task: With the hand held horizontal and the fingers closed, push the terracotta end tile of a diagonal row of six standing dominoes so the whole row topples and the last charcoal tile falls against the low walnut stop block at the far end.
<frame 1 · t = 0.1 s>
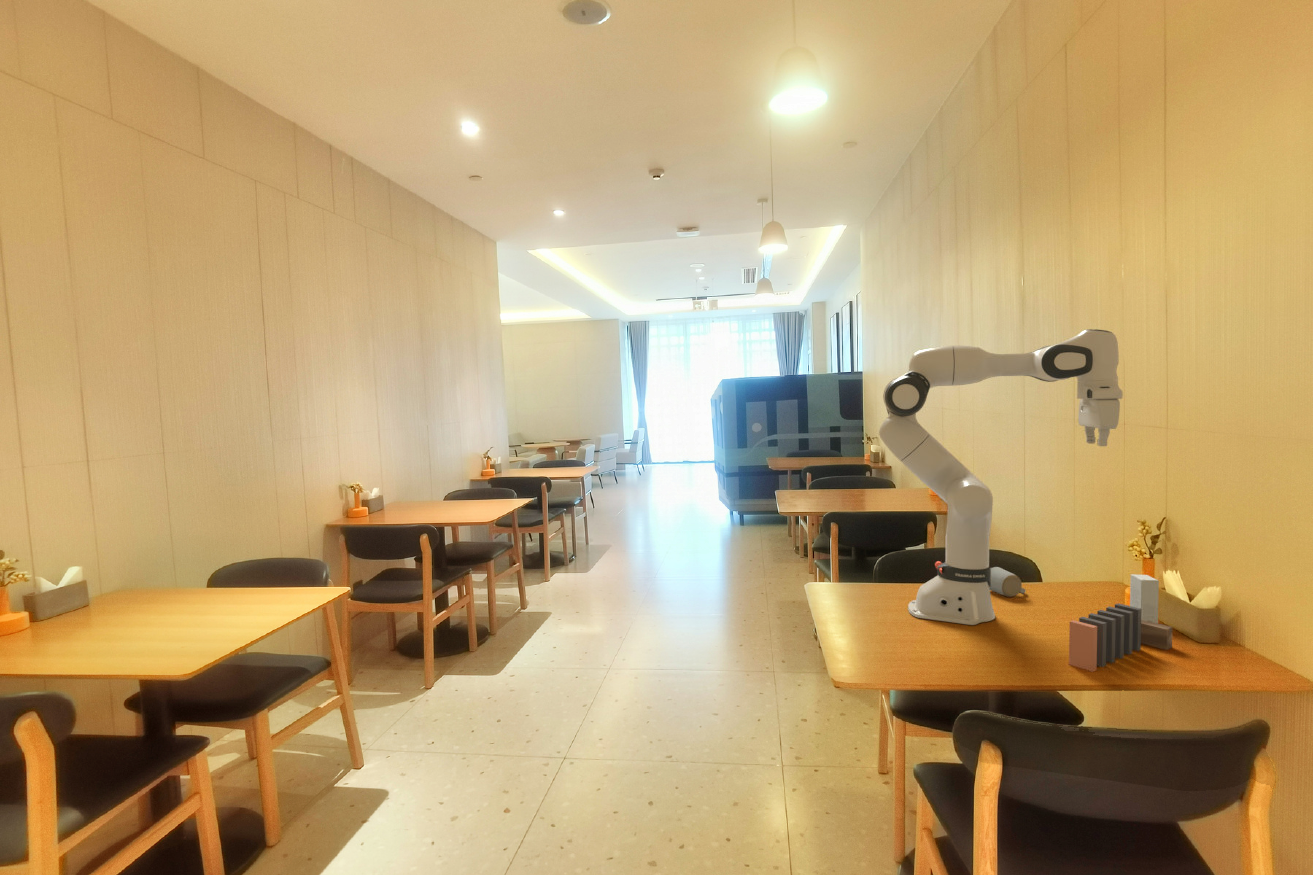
hand: (1096, 444, 171), 48 cm above the table, tool pointing down, fingers open, 8 cm apart
domino 5: (1118, 650, 156), on the table
skincare box: (1143, 621, 176), on the table
domino 3: (1101, 658, 152), on the table
domino 6: (1127, 647, 158), on the table
domino 2: (1092, 662, 149), on the table
ceramic mug: (1006, 594, 202), on the table
end stop: (1140, 640, 162), on the table
domino 4: (1109, 654, 154), on the table
domino 1: (1082, 667, 147), on the table
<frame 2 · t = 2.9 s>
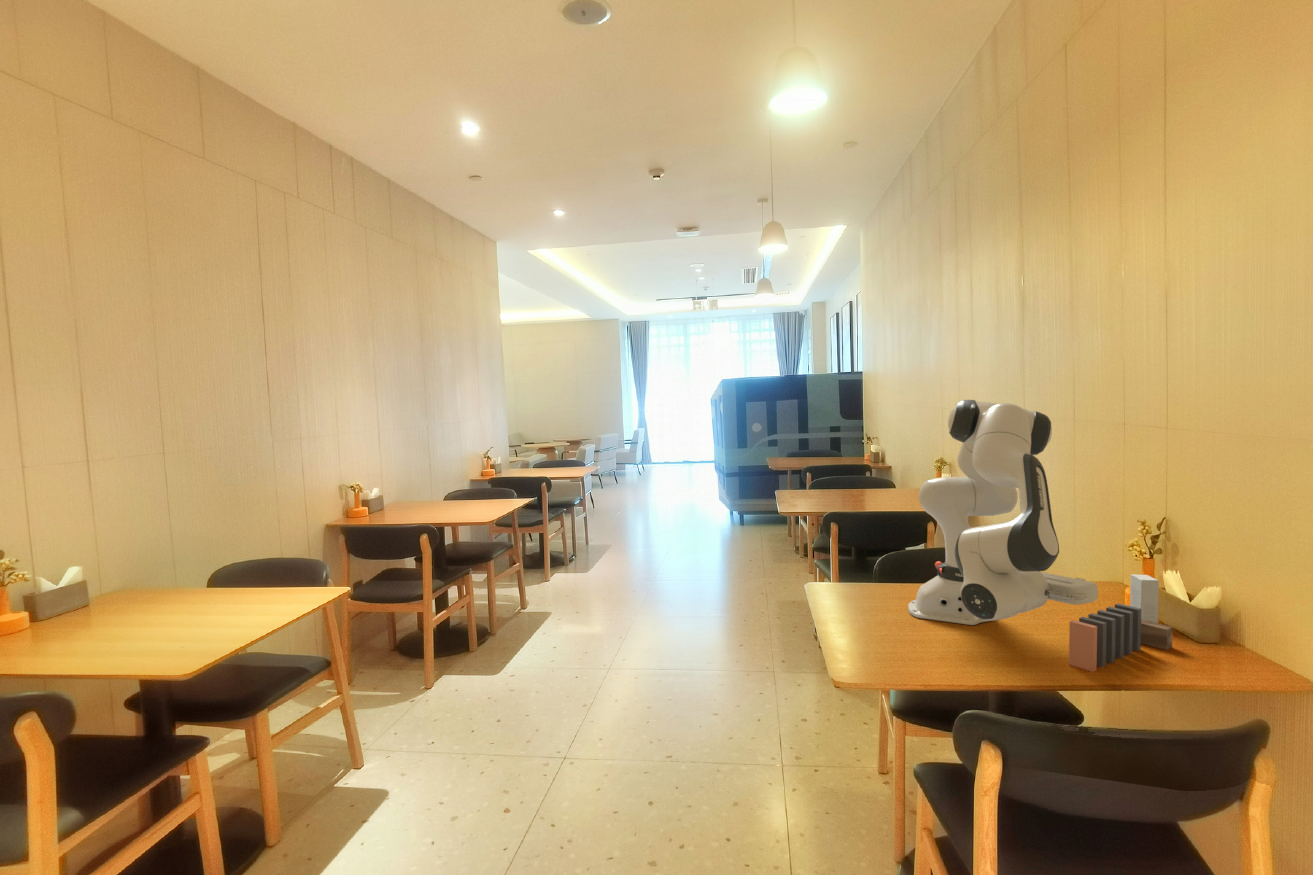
hand: (1058, 577, 140), 23 cm above the table, tool horizontal, fingers open, 8 cm apart
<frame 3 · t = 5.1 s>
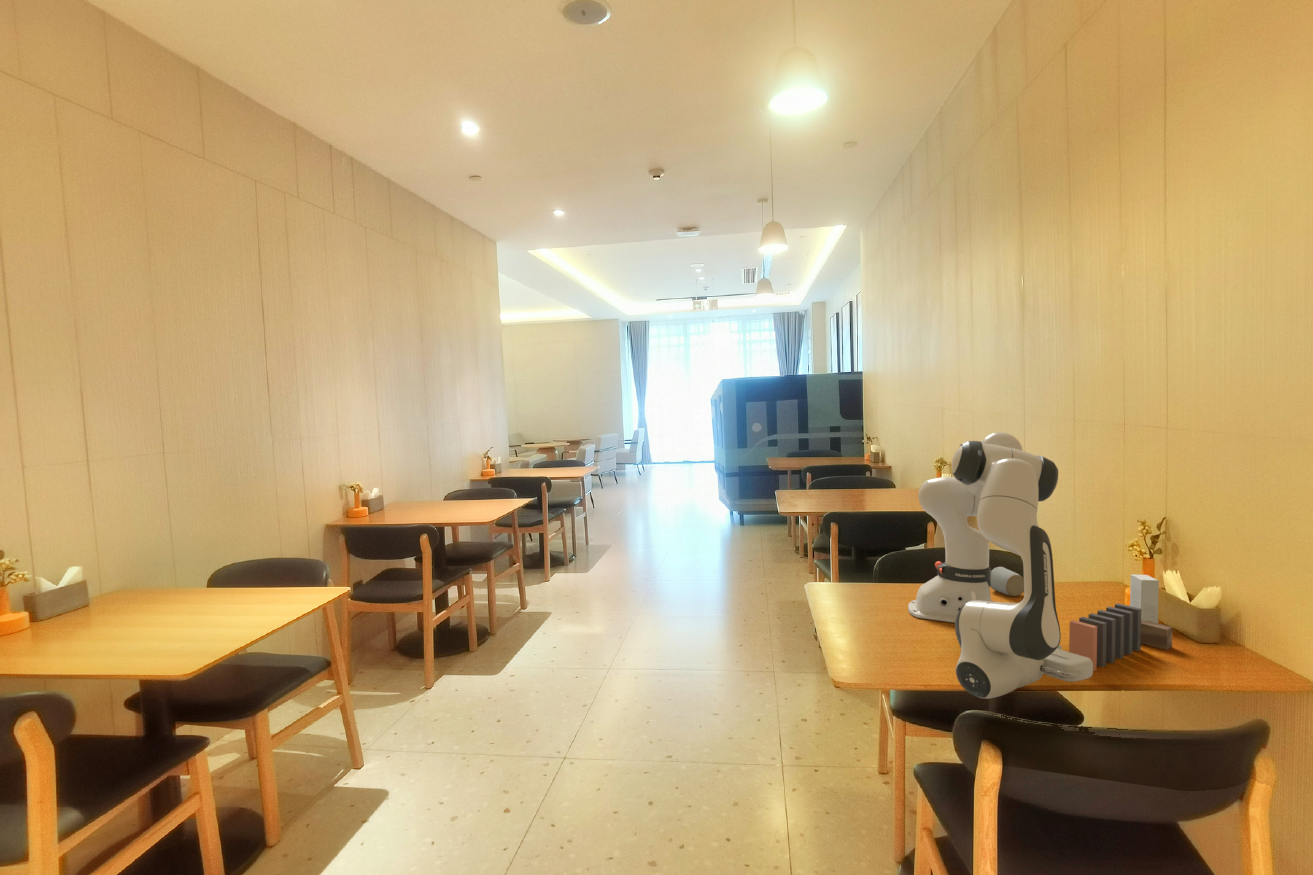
hand: (1054, 647, 140), 7 cm above the table, tool horizontal, fingers closed
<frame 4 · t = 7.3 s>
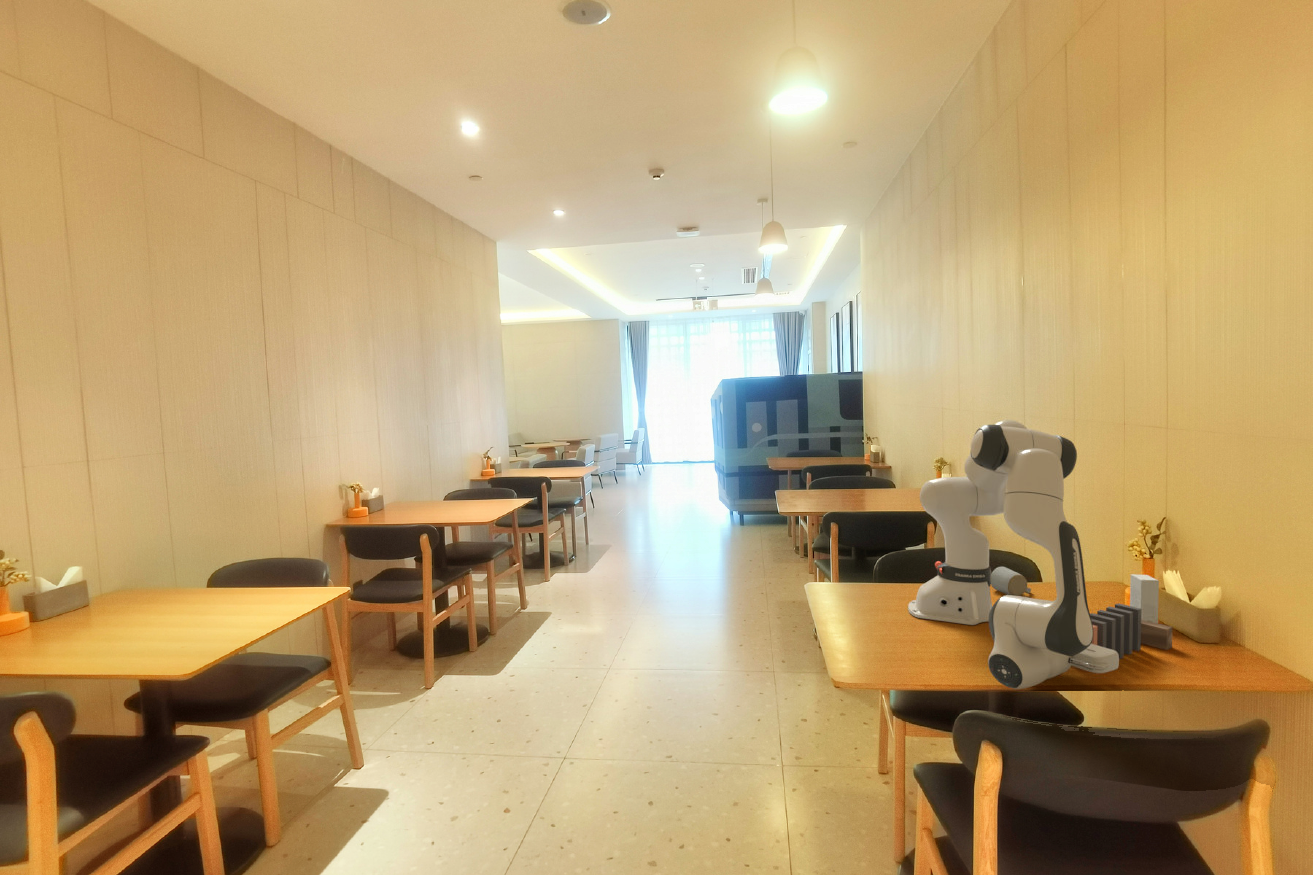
hand: (1080, 640, 147), 6 cm above the table, tool horizontal, fingers closed, pressing on domino 1
domino 1: (1082, 667, 147), on the table, touching gripper
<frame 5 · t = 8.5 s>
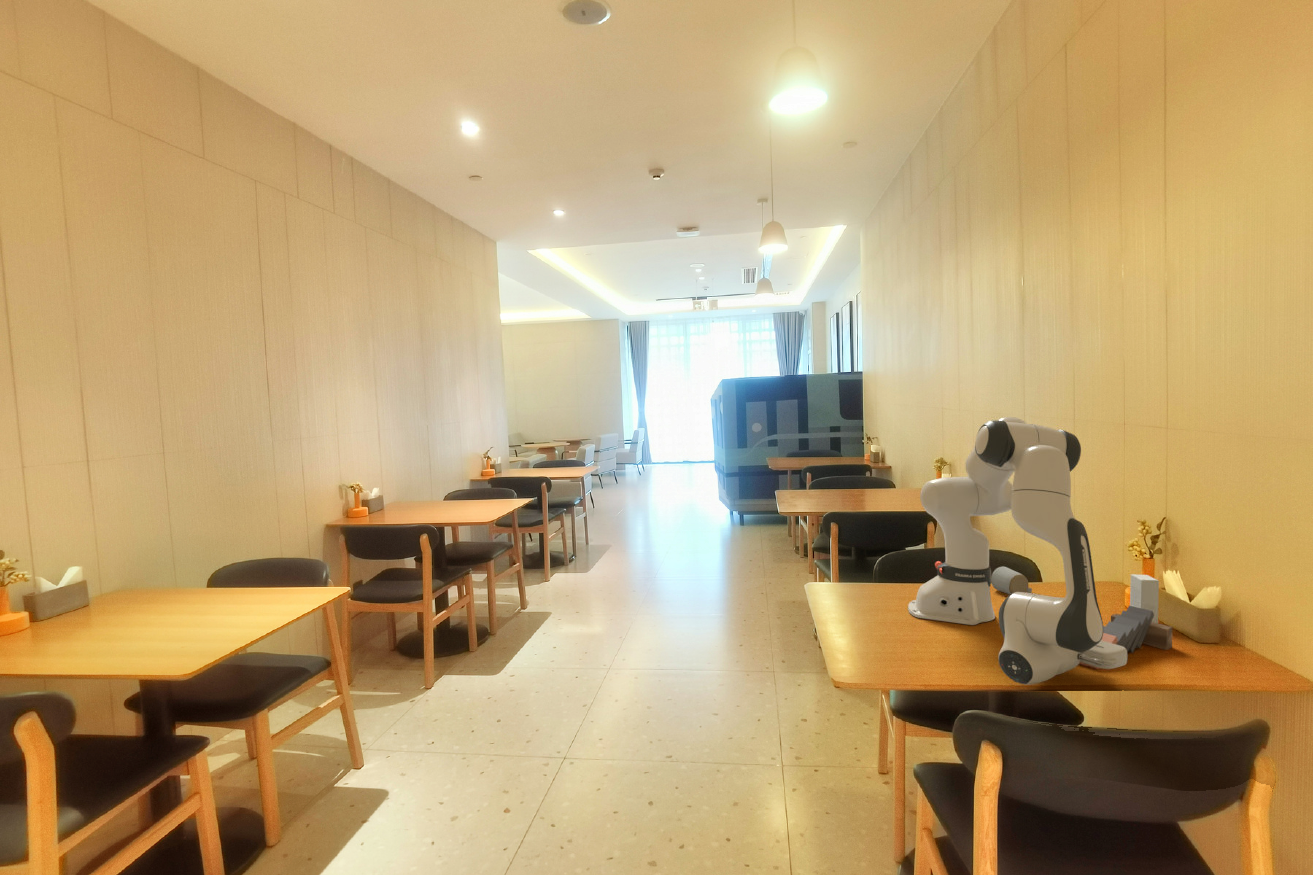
hand: (1088, 636, 148), 7 cm above the table, tool horizontal, fingers closed
domino 5: (1119, 647, 156), point 1 cm above the table, tilted 50°, touching domino 4, domino 6
domino 3: (1103, 654, 152), point 1 cm above the table, tilted 60°, touching domino 2, domino 4
domino 6: (1126, 643, 158), point 1 cm above the table, tilted 47°, touching domino 5, end stop
domino 2: (1094, 658, 150), point 1 cm above the table, tilted 62°, touching domino 1, domino 3
domino 4: (1111, 651, 154), point 1 cm above the table, tilted 55°, touching domino 3, domino 5
domino 1: (1085, 662, 148), point 1 cm above the table, tilted 64°, touching domino 2
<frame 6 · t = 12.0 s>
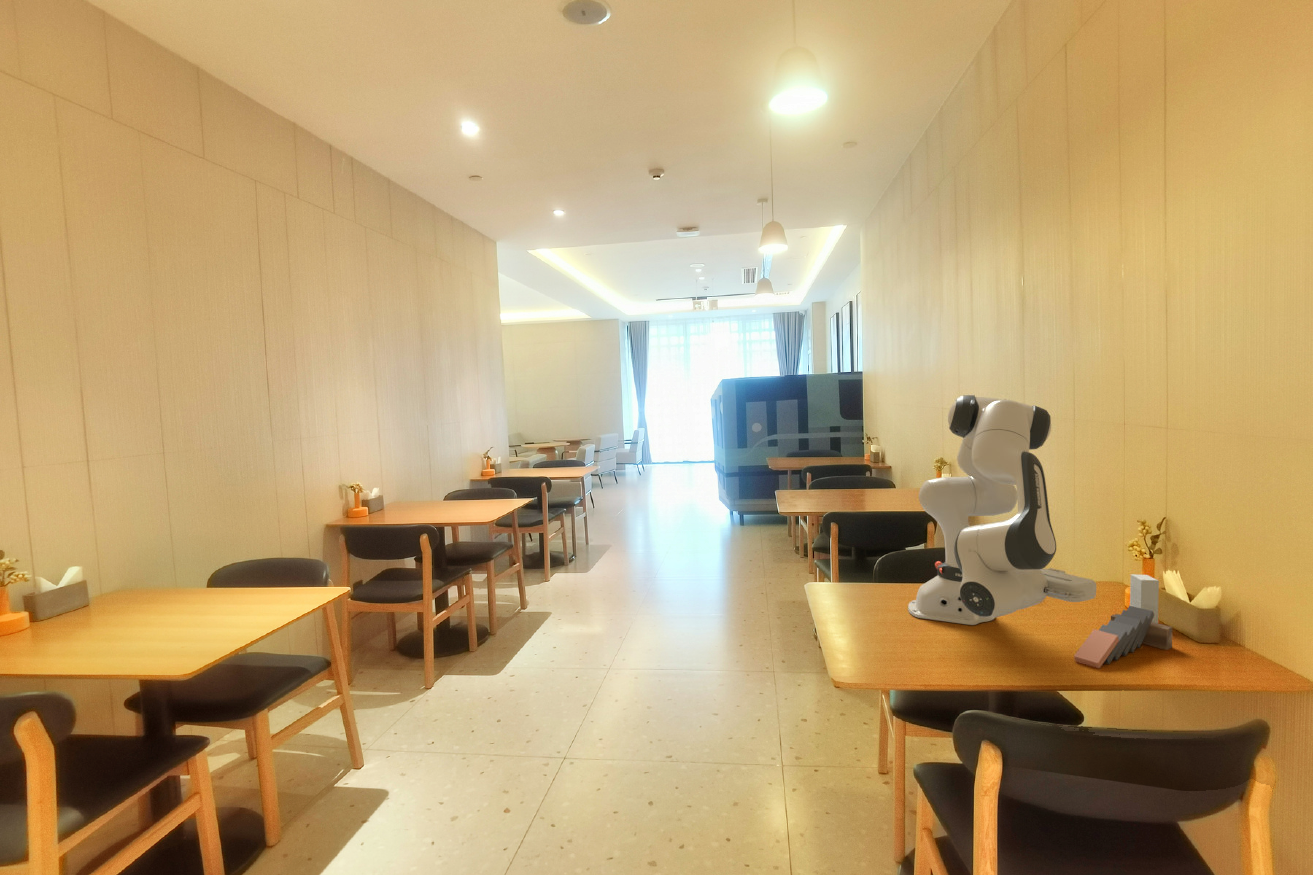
hand: (1058, 573, 141), 23 cm above the table, tool horizontal, fingers closed
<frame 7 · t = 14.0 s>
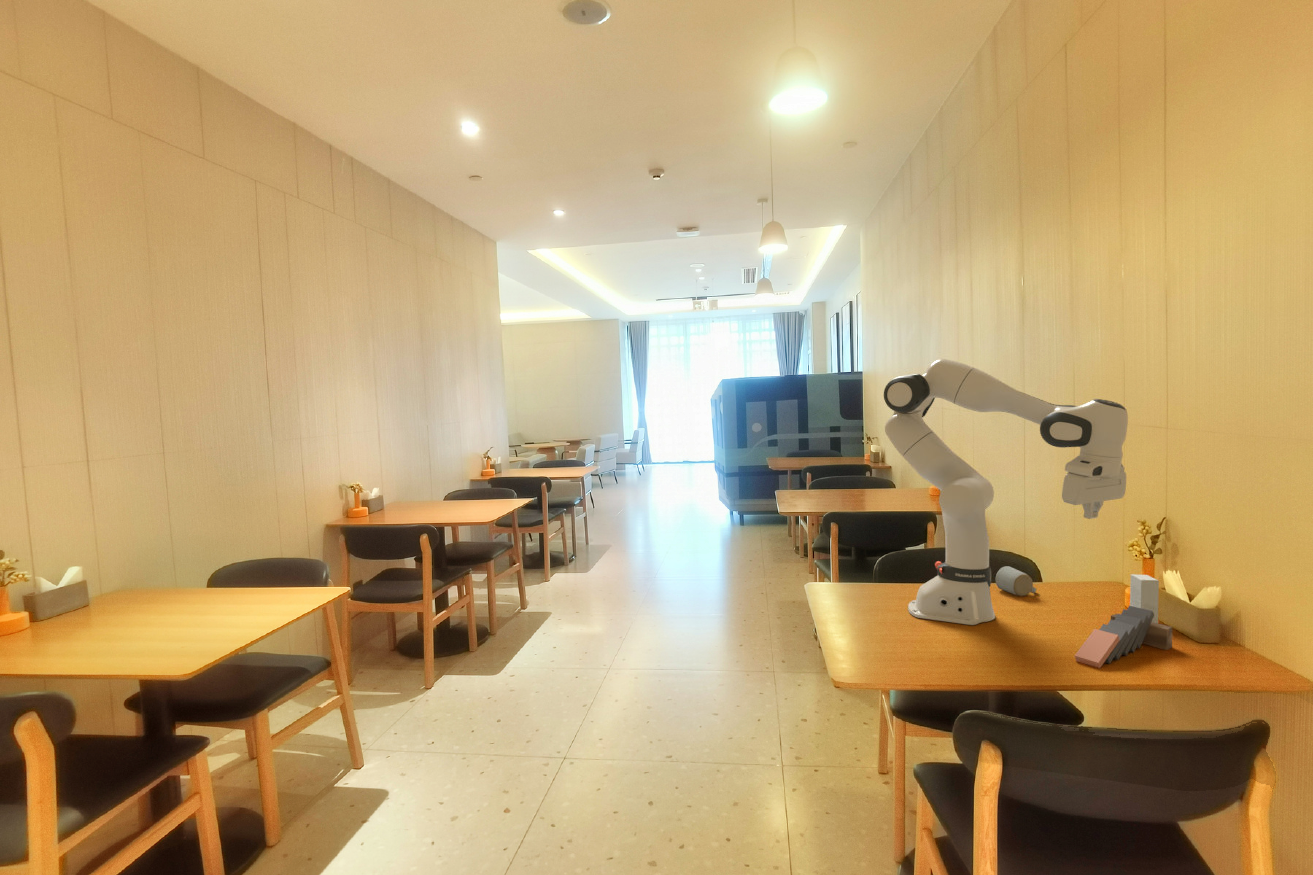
hand: (1090, 517, 166), 30 cm above the table, tool pointing down, fingers closed
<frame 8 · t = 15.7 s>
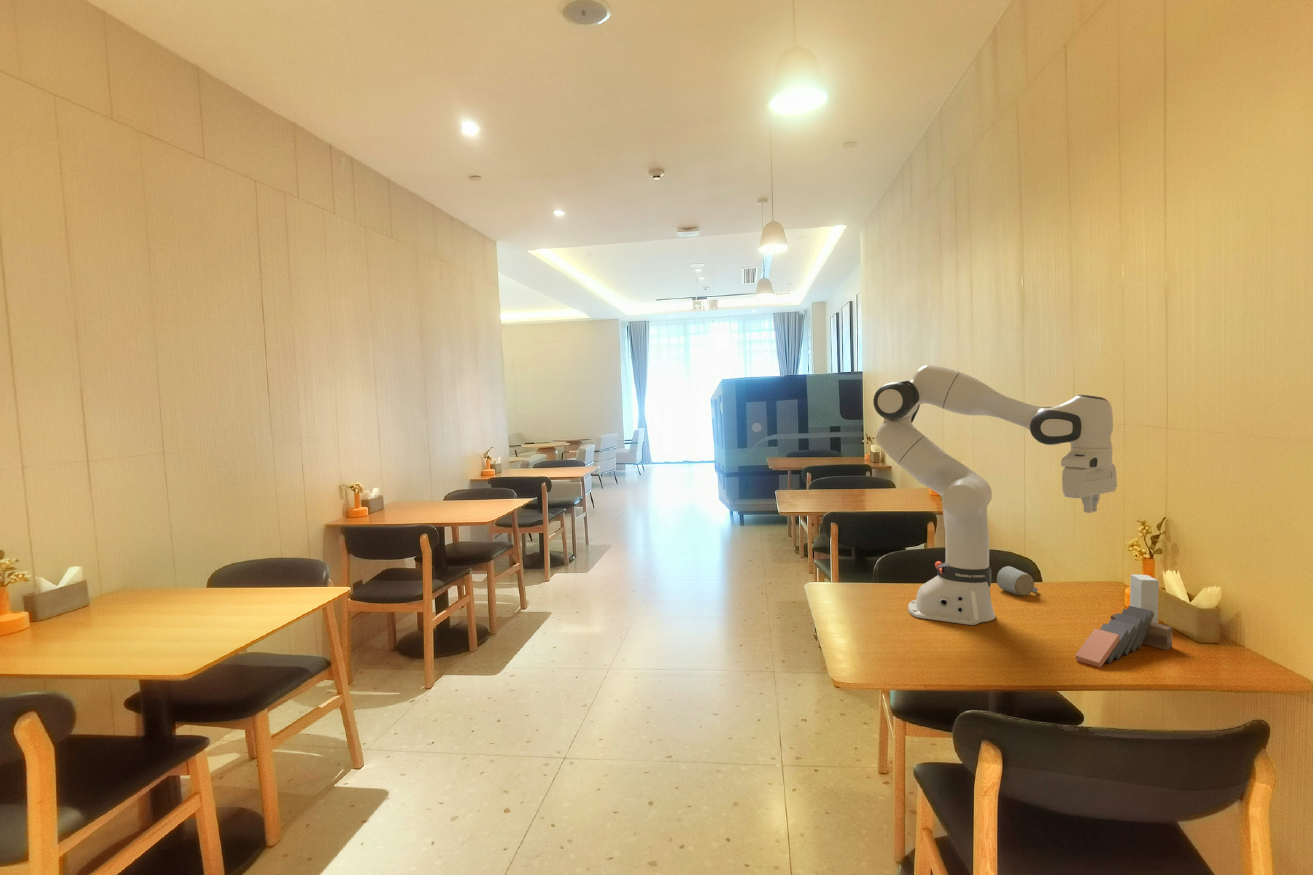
hand: (1090, 512, 168), 31 cm above the table, tool pointing down, fingers closed
at the end: domino 6 tilted 46°; domino 1 tilted 63° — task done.
